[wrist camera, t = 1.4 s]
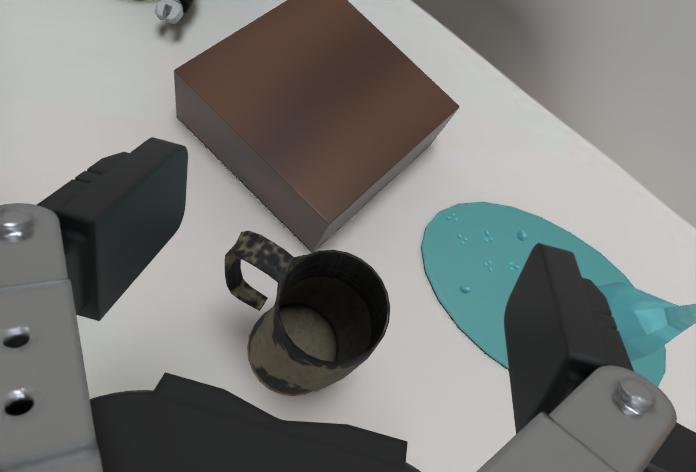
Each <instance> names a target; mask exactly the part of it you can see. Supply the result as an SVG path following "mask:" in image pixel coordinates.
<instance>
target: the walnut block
mask: <svg viewBox="0 0 696 472" xmlns="http://www.w3.org/2000/svg"><path fill="white" fill-rule="evenodd" d="M174 80H175V96H176V113H177V117H178V118H179V119H180V120H181V121H182V122H183V123H184V124H185V125H186V126H187V127H188V128H189V129H190V130H191V131H192V132H193V133H194V134H195V135H196V136H197V137H198V138H199V139H200V140H201V141H202V142H203V143H204V144H205V145H206V146H207V147H208V148H209V149H210V150H211V151H212V152H213V153H214V154H215V155H216V156H217V157H218V158H219V159H220V160H221V161H222V162H223V163H224V164H225V165H226V166H227V167H228V168H229V169H230V170H231V171H232V172H233V173H234V174H235V175H236V176H237V177H238V178H239V179H240V180H241V181H242V182H243V183H244V184H245V185H246V186H247V187H248V188H249V189H250V190H251V191H252V192H253V193H254V194H255V195H256V196H257V197H258V198H259V199H260V200H261V201H262V202H263V203H264V204H265V205H266V206H267V207H268V208H269V209H270V210H271V211H272V212H273V213H274V214H275V215H276V216H277V217H278V218H279V219H280V220H281V221H282V222H283V223H284V224H285V225H286V226H287V227H288V228H289V229H290V230H291V231H292V232H293V233H294V234H295V235H296V236H297V237H298V238H299V239H300V241H301V242H302V243H303V244H304V245H305V246H306V247H307V248H308V249H309V250H310V251H311V252H314V251H315V250H316V249H317V248H319V247H320V246H321V245H322V244H323V243H324V242H325V241H326V240H327V239H328V238H329V237H331V236H332V235H333V234H334V233H335V232H336V231H337V230H338V229H339V228H340V227H341V226H343V225H344V224H345V223H346V222H347V221H348V220H349V219H350V218H351V217H352V216H353V215H354V214H356V213H357V212H358V211H359V210H360V209H361V208H362V207H363V206H364V205H365V204H366V203H368V202H369V201H370V200H371V199H372V198H373V197H374V196H375V195H376V194H377V193H378V192H380V191H381V190H382V189H383V188H384V187H385V186H386V185H387V184H388V183H389V182H390V181H392V180H393V179H394V178H395V177H396V176H397V175H398V174H399V173H400V172H401V171H402V170H403V169H405V168H406V167H407V166H408V165H409V164H410V163H411V162H412V161H413V160H414V159H415V158H417V157H418V156H419V155H420V154H421V153H422V152H423V151H424V150H425V149H426V148H427V147H429V146H430V145H431V144H432V142H433V141H434V140H435V138H436V137H437V136H438V135H439V133H440V132H441V131H442V129H443V128H444V127H445V125H446V124H447V123H448V121H449V120H450V119H451V118H452V116H453V115H454V114H455V112H456V111H457V110H458V108H459V105H458V104H457V103H456V102H455V101H453V100H452V99H451V98H450V97H449V96H448V95H447V94H446V93H445V92H444V91H443V90H442V89H441V88H440V87H439V86H438V85H436V84H435V83H434V82H433V81H432V80H431V79H430V78H429V77H428V76H427V75H426V74H425V73H424V72H423V71H422V70H421V69H420V68H418V67H417V66H416V65H415V64H414V63H413V62H412V61H411V60H410V59H409V58H408V57H407V56H406V55H405V54H404V53H403V52H401V51H400V50H399V49H398V48H397V47H396V46H395V45H394V44H393V43H392V42H391V41H390V40H389V39H388V38H387V37H386V36H385V35H383V34H382V33H381V32H380V31H379V30H378V29H377V28H376V27H375V26H374V25H373V24H372V23H371V22H370V21H369V20H368V19H367V18H365V17H364V16H363V15H362V14H361V13H360V12H359V11H358V10H357V9H356V8H355V7H354V6H353V5H352V4H351V3H350V2H348V1H347V0H287V1H285V2H284V3H282V4H281V5H279V6H277V7H276V8H274V9H272V10H271V11H269V12H268V13H266V14H264V15H263V16H261V17H259V18H258V19H256V20H255V21H253V22H251V23H250V24H248V25H247V26H245V27H243V28H242V29H240V30H238V31H237V32H235V33H234V34H232V35H230V36H229V37H227V38H225V39H224V40H222V41H221V42H219V43H217V44H216V45H214V46H212V47H211V48H209V49H208V50H206V51H204V52H203V53H201V54H199V55H198V56H196V57H195V58H193V59H191V60H190V61H188V62H187V63H185V64H183V65H182V66H180V67H178V68H177V69H175V70H174Z"/></svg>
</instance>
